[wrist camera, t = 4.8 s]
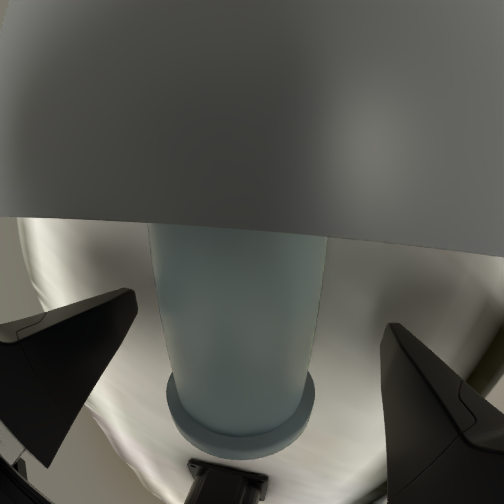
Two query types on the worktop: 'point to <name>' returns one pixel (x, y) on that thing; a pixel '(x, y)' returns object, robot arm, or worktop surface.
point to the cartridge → (238, 333)
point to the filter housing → (259, 116)
